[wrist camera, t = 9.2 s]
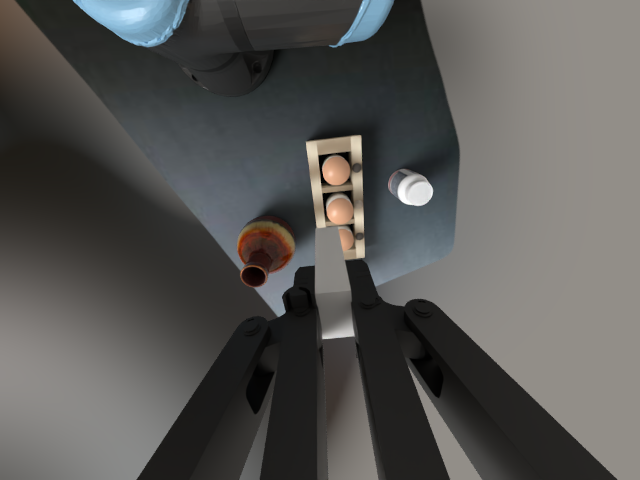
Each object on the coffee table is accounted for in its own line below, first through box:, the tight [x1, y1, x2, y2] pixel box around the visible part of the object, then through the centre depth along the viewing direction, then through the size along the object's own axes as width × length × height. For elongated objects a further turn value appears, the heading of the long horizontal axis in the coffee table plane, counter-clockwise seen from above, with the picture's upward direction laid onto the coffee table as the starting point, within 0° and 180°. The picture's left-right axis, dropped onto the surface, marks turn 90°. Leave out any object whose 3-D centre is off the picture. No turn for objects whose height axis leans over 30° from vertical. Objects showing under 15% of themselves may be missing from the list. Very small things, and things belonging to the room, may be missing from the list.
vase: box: [237, 216, 296, 287], centre depth 42 cm, size 11×11×15 cm
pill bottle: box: [388, 169, 433, 206], centre depth 40 cm, size 5×5×9 cm
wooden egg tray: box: [306, 135, 365, 260], centre depth 44 cm, size 23×9×4 cm, turn 6°
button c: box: [330, 224, 354, 251], centre depth 46 cm, size 5×5×4 cm
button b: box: [326, 192, 354, 224], centre depth 41 cm, size 5×5×4 cm
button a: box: [322, 154, 350, 185], centre depth 40 cm, size 5×5×4 cm
